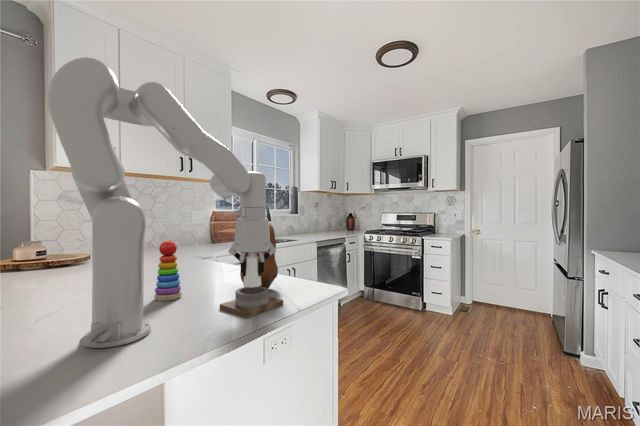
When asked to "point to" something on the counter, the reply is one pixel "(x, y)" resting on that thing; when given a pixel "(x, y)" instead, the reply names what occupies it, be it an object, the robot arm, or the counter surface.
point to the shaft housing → (251, 302)
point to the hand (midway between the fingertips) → (252, 274)
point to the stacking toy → (168, 274)
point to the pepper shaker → (252, 271)
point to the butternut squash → (267, 264)
